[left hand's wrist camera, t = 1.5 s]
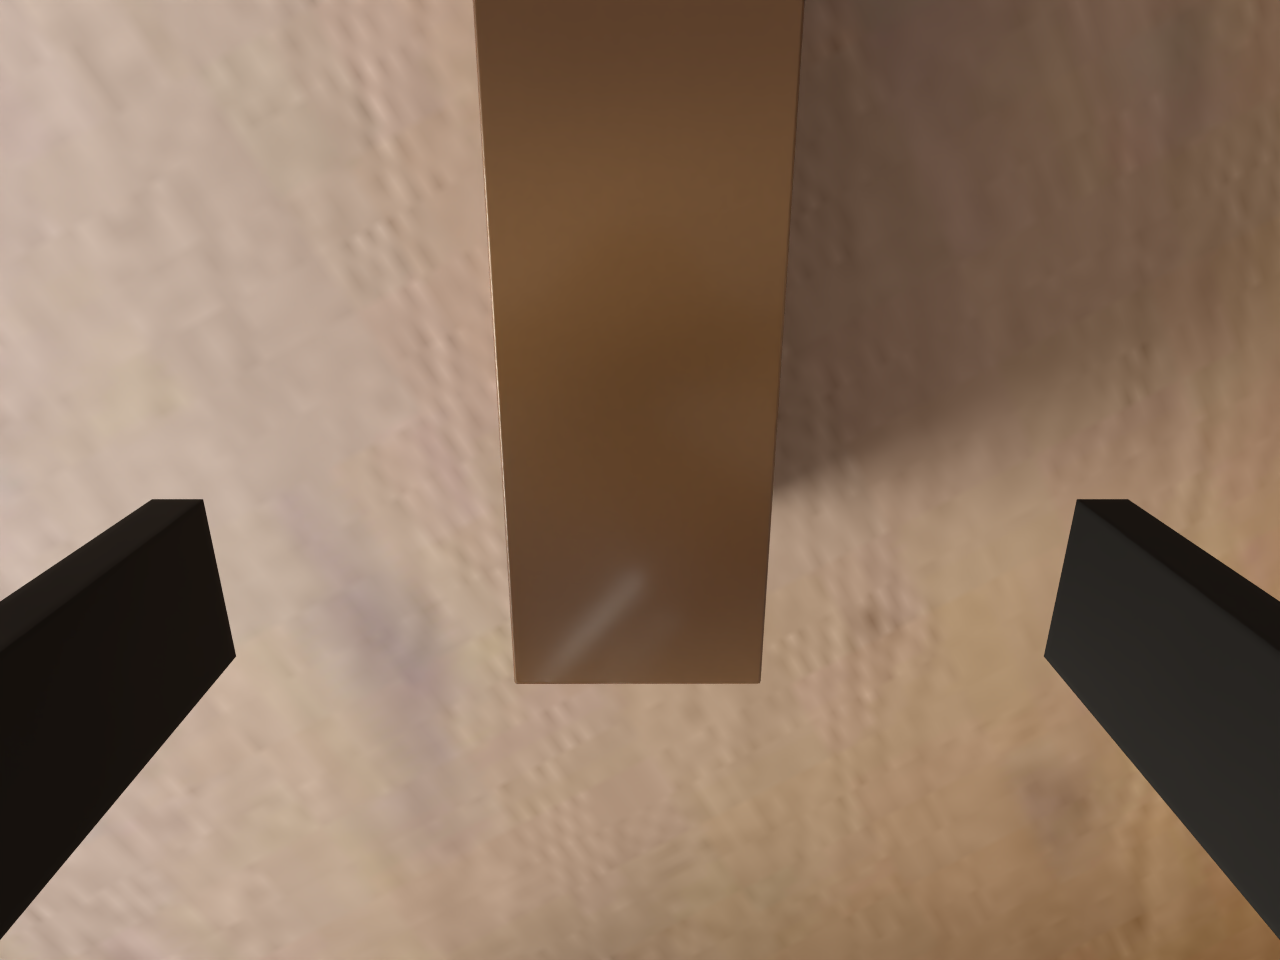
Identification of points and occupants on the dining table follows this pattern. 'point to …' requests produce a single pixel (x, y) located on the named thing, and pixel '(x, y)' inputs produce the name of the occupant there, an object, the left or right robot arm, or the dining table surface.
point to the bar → (638, 324)
